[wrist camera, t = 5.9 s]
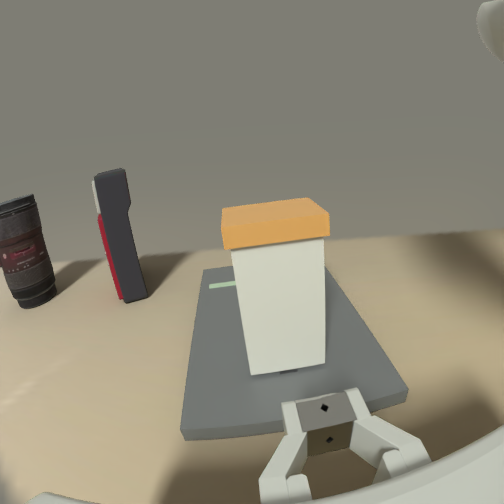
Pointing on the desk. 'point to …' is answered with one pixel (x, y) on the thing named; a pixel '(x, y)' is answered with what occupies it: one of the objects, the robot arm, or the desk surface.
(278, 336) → the fader knob
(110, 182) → the calculator
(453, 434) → the desk surface
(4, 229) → the camera lens
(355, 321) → the fader console
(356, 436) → the robot arm
